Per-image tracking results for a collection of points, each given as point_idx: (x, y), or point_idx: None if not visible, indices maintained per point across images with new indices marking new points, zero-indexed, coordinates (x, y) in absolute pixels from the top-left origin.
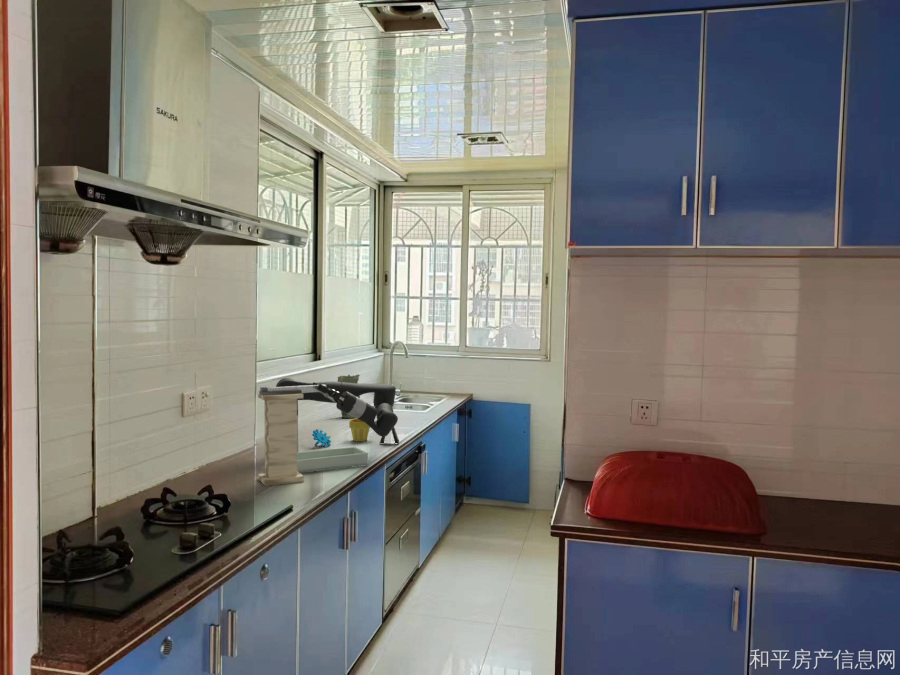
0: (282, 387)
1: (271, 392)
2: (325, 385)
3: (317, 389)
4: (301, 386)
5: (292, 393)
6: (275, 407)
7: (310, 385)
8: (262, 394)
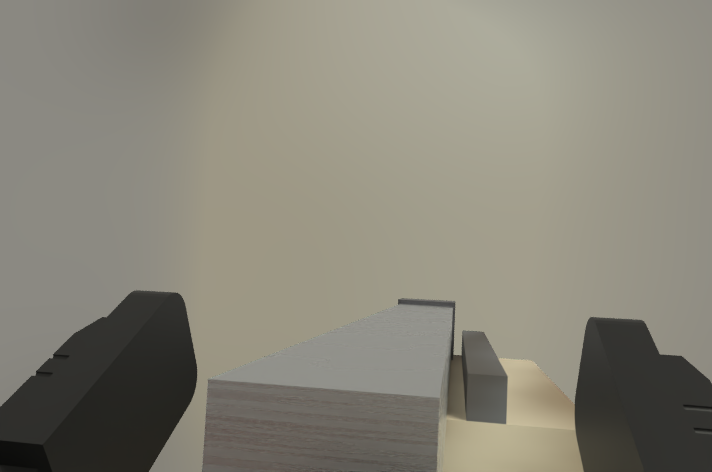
0: (388, 309)
1: None
2: (224, 383)
3: (181, 398)
4: (357, 321)
5: None
6: None
7: (401, 338)
8: None
